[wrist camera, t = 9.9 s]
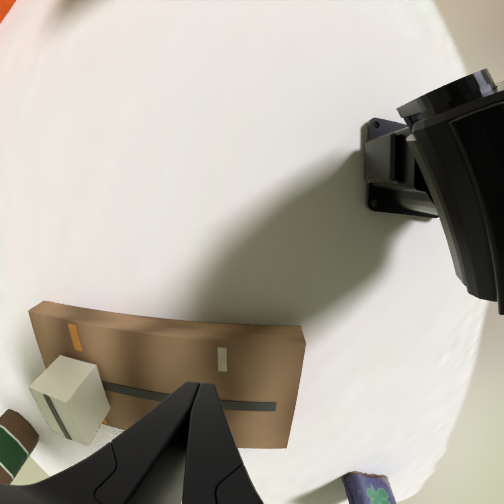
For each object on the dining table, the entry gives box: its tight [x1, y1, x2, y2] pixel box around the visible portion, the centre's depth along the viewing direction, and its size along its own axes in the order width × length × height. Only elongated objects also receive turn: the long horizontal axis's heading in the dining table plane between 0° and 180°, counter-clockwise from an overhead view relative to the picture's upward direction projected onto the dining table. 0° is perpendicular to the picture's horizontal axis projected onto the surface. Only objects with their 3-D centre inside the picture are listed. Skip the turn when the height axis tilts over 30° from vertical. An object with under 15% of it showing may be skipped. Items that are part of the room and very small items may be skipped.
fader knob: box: [29, 355, 110, 446], centre depth 16 cm, size 4×5×5 cm
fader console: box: [28, 301, 306, 449], centre depth 20 cm, size 23×12×3 cm, turn 88°
